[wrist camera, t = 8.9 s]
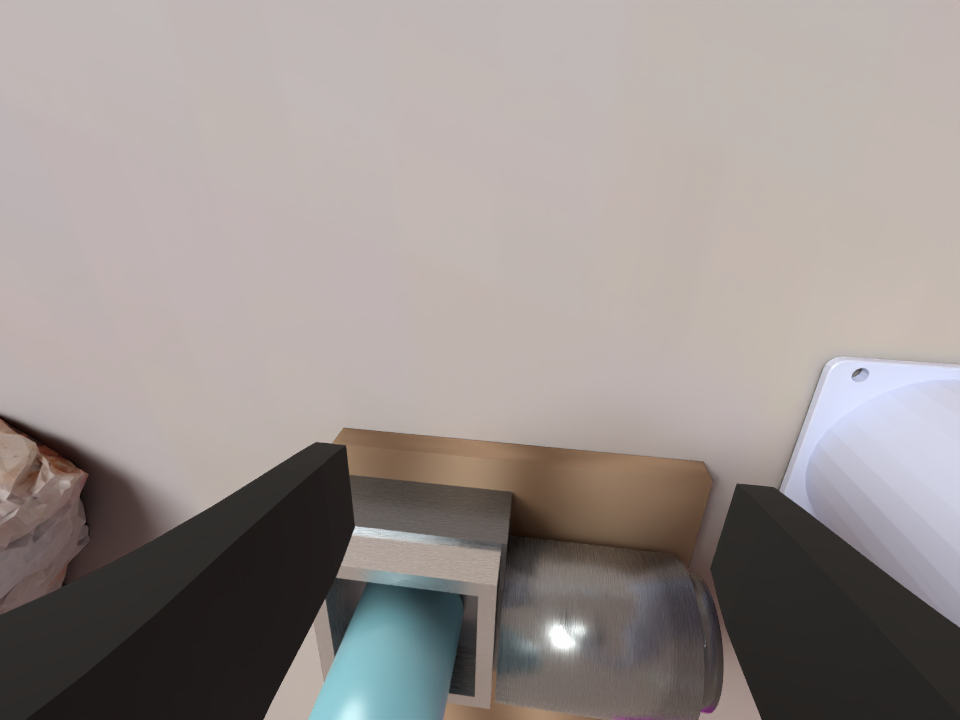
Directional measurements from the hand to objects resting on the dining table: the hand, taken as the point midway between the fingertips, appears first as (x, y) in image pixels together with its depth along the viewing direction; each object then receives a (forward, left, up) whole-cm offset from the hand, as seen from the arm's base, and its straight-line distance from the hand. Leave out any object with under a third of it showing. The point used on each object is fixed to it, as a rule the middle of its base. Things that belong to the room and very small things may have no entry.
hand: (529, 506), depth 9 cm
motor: (0, +10, -8) cm, 13 cm away
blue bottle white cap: (+4, +10, -5) cm, 12 cm away
